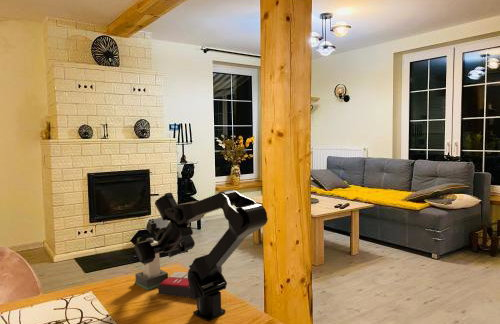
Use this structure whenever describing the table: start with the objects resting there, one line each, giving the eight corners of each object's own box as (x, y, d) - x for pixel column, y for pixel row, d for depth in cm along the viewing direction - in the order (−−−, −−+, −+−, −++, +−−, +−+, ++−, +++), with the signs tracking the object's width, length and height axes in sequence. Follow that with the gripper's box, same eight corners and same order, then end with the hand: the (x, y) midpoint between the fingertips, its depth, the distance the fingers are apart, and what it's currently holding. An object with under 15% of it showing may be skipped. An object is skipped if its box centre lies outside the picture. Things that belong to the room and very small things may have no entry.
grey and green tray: (169, 282, 123) (168, 272, 123) (147, 290, 117) (146, 280, 117) (156, 276, 128) (155, 266, 128) (135, 283, 123) (134, 273, 123)
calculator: (175, 270, 125) (216, 272, 120) (176, 282, 125) (217, 285, 120) (157, 283, 114) (200, 286, 110) (158, 296, 115) (201, 300, 110)
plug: (160, 280, 123) (158, 238, 121) (149, 284, 120) (147, 241, 119) (154, 277, 126) (152, 236, 124) (143, 280, 123) (141, 239, 121)
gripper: (188, 206, 121) (170, 233, 130) (135, 216, 108) (119, 246, 116) (203, 233, 116) (184, 260, 125) (150, 248, 103) (133, 276, 111)
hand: (156, 259), depth 119 cm, fingers open, 9 cm apart
